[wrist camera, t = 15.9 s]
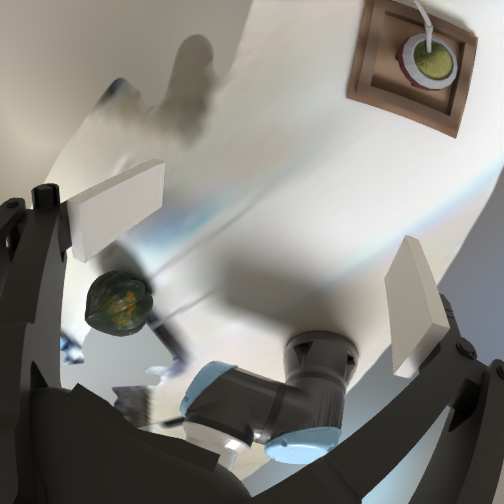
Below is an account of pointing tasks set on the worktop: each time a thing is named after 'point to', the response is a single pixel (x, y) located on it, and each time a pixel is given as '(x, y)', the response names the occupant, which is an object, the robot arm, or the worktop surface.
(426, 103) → the holder board
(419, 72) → the mate gourd
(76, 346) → the worktop surface
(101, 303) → the squash
